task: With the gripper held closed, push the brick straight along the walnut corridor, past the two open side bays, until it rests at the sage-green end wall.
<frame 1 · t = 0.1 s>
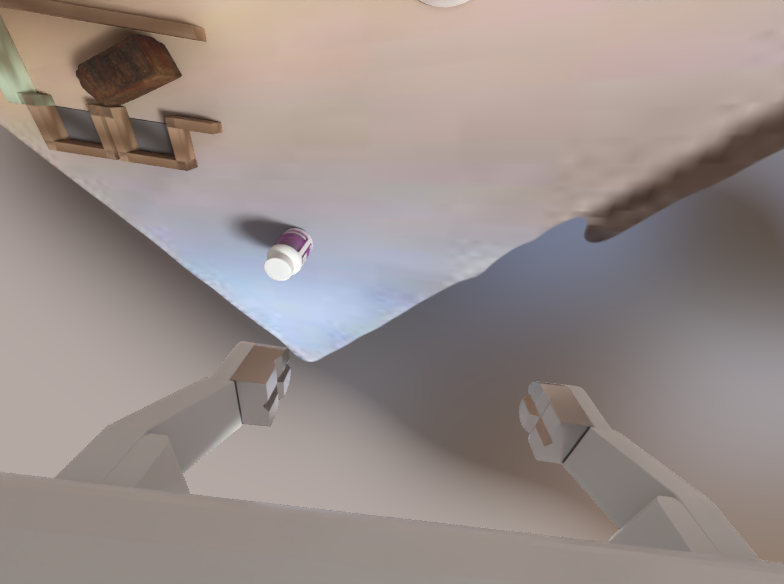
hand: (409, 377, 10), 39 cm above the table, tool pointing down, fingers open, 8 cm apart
pill bottle: (298, 241, 50), on the table
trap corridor: (112, 67, 37), on the table
brick: (143, 74, 38), on the table
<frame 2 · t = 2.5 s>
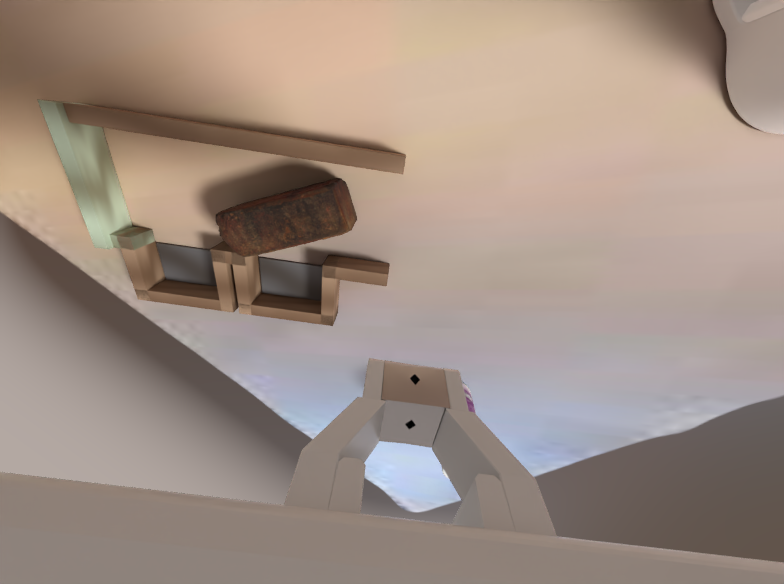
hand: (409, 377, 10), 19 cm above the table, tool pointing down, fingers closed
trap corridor: (252, 199, 26), on the table
brick: (298, 211, 27), on the table
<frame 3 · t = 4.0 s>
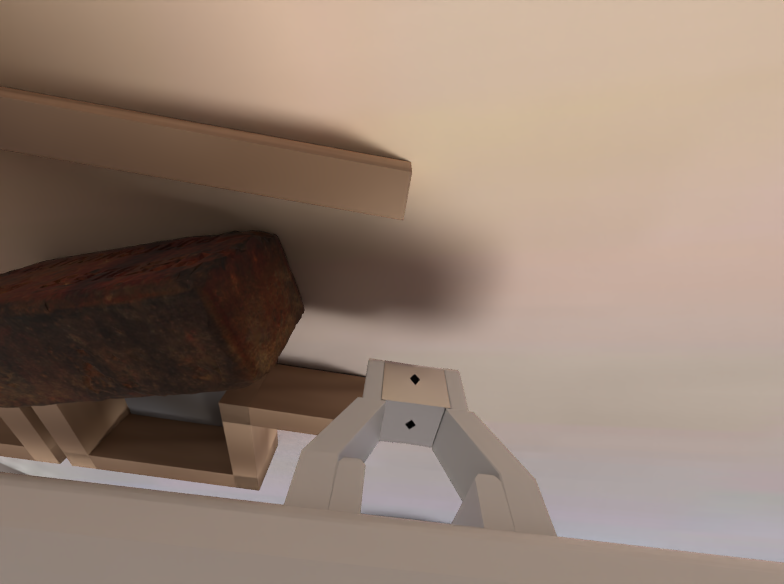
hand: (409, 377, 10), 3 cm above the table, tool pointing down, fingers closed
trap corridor: (60, 252, 11), on the table
brick: (179, 281, 12), on the table
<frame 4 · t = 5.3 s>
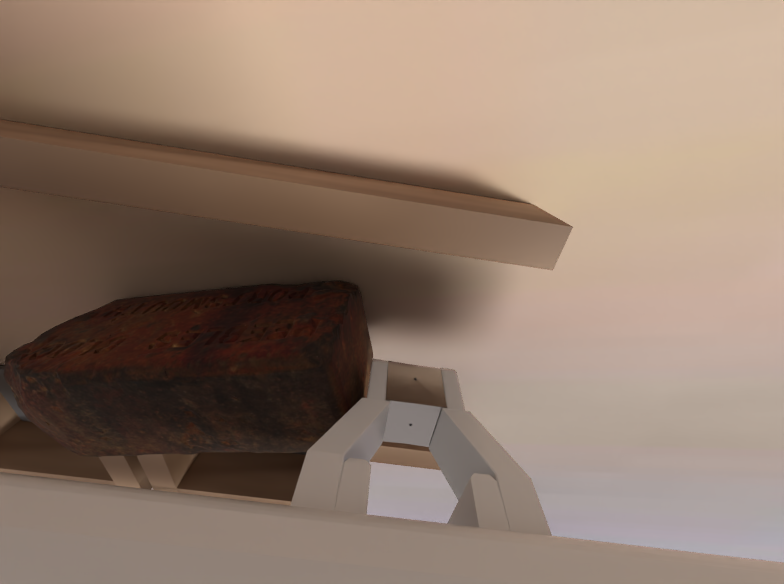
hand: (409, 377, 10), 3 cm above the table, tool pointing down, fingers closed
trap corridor: (165, 292, 11), on the table
brick: (247, 321, 12), on the table, touching gripper
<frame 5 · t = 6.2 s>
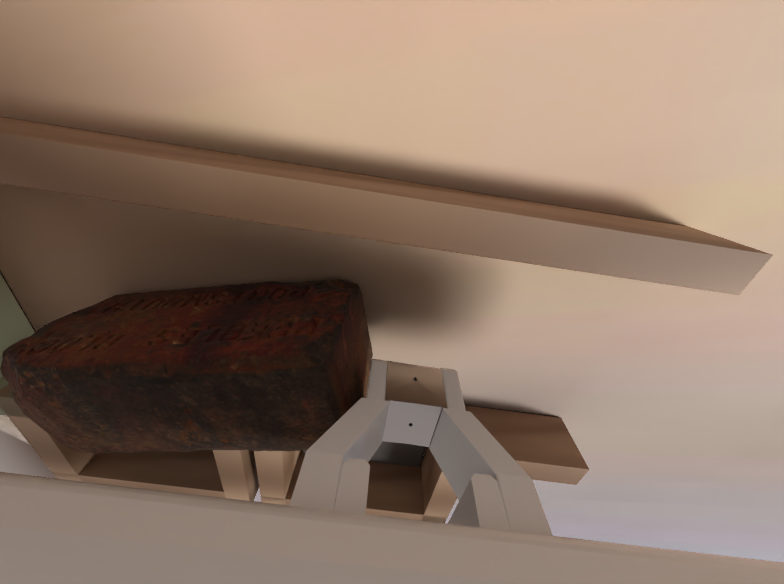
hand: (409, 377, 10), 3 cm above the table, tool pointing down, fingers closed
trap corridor: (298, 309, 12), on the table
brick: (246, 318, 12), on the table, touching gripper
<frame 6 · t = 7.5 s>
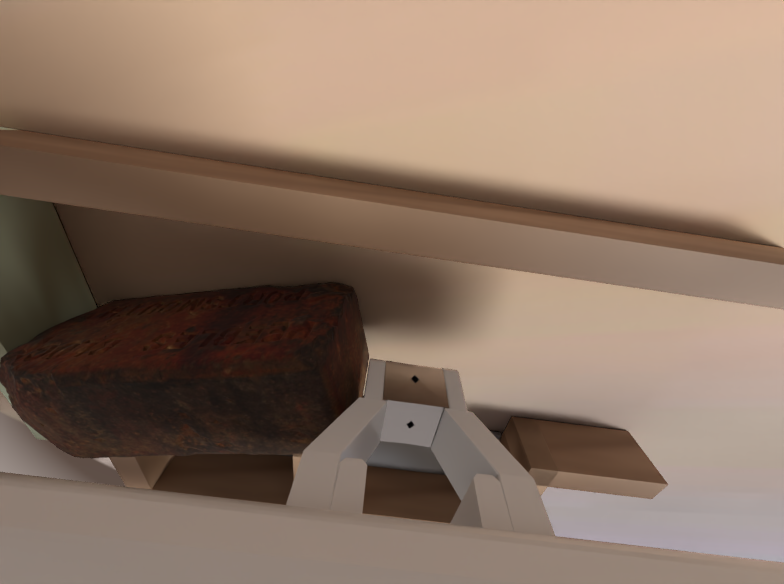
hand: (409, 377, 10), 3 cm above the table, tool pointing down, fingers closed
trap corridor: (382, 327, 12), on the table
brick: (243, 322, 12), on the table, touching gripper
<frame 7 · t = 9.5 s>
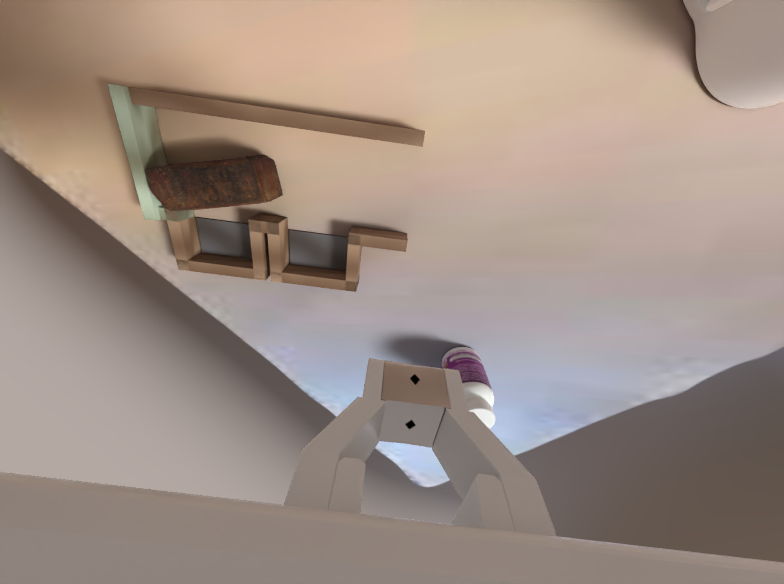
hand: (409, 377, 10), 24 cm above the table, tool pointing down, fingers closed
pill bottle: (459, 359, 40), on the table
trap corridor: (285, 174, 29), on the table
brick: (230, 179, 30), on the table
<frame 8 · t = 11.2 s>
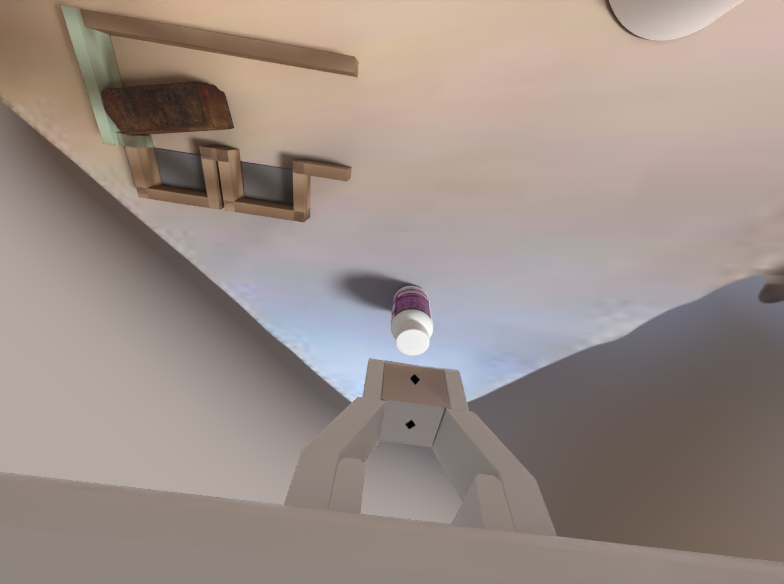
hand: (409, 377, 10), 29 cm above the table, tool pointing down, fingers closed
pill bottle: (410, 299, 42), on the table
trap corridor: (234, 105, 31), on the table
brick: (186, 112, 32), on the table
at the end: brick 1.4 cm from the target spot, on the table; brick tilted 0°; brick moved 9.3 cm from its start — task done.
